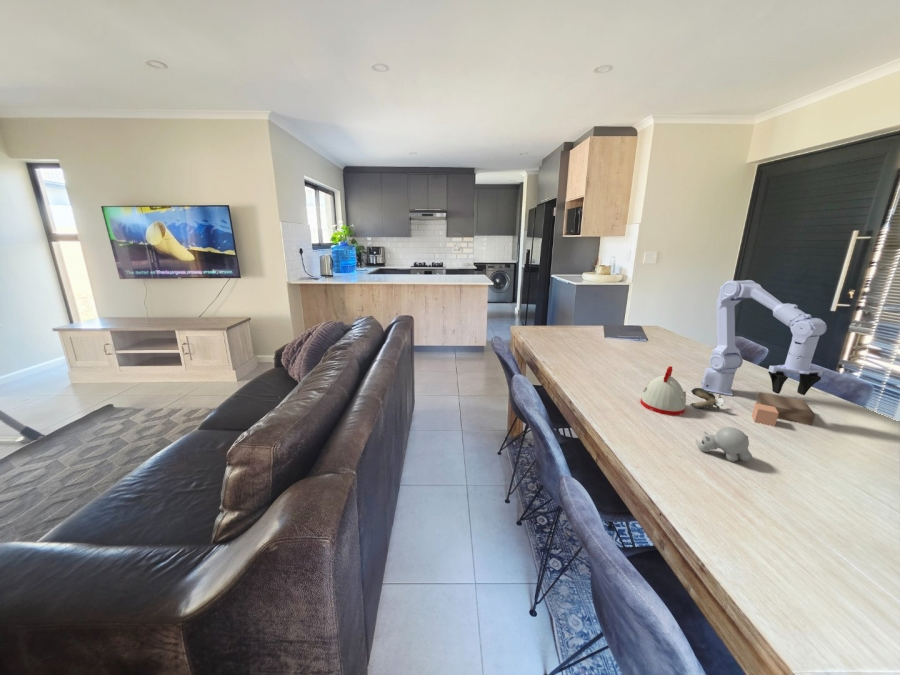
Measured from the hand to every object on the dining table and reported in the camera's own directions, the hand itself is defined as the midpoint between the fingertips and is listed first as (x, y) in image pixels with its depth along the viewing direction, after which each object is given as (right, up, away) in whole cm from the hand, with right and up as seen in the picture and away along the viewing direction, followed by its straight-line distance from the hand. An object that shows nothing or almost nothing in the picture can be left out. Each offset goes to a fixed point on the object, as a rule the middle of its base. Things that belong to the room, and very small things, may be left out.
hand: (788, 393), depth 114 cm
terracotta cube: (-9, -9, 0) cm, 13 cm away
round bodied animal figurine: (-37, -15, -18) cm, 44 cm away
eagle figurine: (-21, -7, +9) cm, 24 cm away
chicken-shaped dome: (-36, -7, +10) cm, 38 cm away
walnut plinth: (+3, -8, +5) cm, 10 cm away
